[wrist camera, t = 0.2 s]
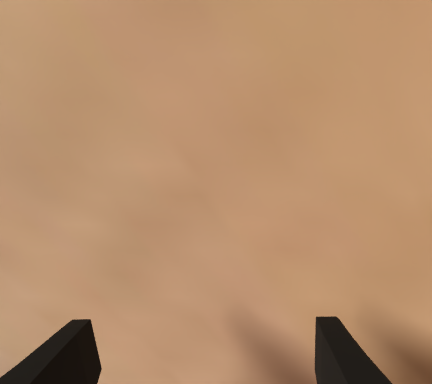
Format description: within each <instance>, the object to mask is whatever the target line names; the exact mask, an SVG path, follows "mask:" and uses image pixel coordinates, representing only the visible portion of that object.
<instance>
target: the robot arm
mask: <svg viewBox="0 0 432 384" xmlns="http://www.w3.org/2000/svg"><path fill="white" fill-rule="evenodd" d="M101 369H102V368H101V364H100V359H99V355H98V350H97V346H96V341H95V337H94V332H93V328H92V324H91V319H83V320H72V321H70V322H69V323H68V324H66V325H65V326H64V327H63V328H61V329H60V330H59V331H58V332H56V333H55V334H54V335H53V336H52V337H50V338H49V339H48V340H47V341H46V342H44V343H43V344H42V345H41V346H40V347H38V348H37V349H36V350H35V351H33V352H32V353H31V354H30V355H29V356H27V357H26V358H25V359H24V360H22V361H21V362H20V363H19V364H18V365H16V366H15V367H14V368H12V369H11V370H10V371H8V372H7V373H6V374H4V375H3V376H2V377H1V378H0V384H97V383H98V379H99V376H100V372H101ZM315 373H316V379H317V384H392V383H391V382H390V381H389V379H388V378H387V377H386V376H385V375H384V374H383V373H382V372H381V371H380V370H379V368H378V367H377V366H376V365H375V364H374V363H373V361H372V360H371V359H370V358H369V357H368V356H367V355H366V353H365V352H364V351H363V350H362V348H361V347H360V346H359V345H358V343H357V342H356V341H355V340H354V338H353V337H352V336H351V334H350V333H349V332H348V331H347V329H346V328H345V326H344V325H343V324H342V322H341V321H340V320H339V319H338V318H337V317H316V336H315Z"/></svg>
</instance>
